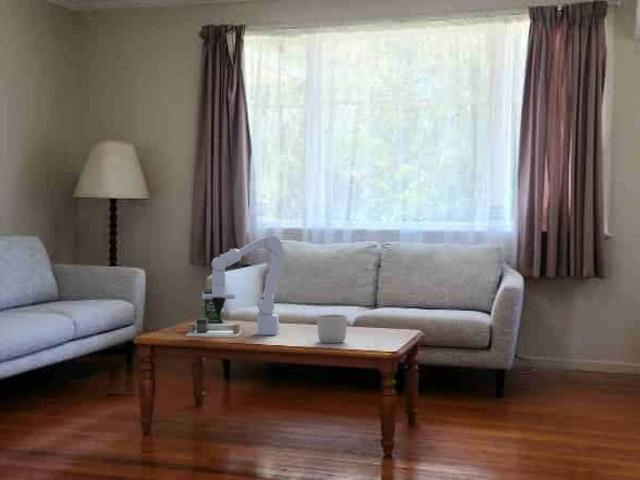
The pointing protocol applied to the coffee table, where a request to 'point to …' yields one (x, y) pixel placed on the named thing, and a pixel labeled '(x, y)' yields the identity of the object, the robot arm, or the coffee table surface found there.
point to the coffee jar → (213, 310)
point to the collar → (202, 324)
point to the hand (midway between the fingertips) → (218, 315)
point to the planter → (332, 328)
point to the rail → (214, 333)
